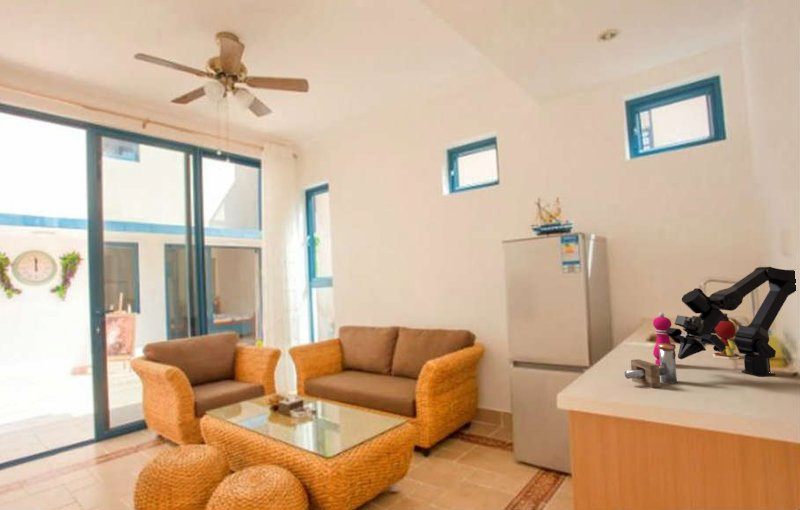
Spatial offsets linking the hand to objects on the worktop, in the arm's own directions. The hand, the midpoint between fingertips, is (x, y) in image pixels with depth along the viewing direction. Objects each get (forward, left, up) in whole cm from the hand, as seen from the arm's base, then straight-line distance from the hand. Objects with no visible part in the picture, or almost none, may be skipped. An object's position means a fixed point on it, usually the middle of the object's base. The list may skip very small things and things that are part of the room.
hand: (679, 358), depth 139 cm
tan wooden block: (+13, 0, -7) cm, 15 cm away
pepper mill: (-11, -19, -7) cm, 23 cm away
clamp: (+11, 0, -7) cm, 13 cm away
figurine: (-42, -23, -7) cm, 48 cm away
